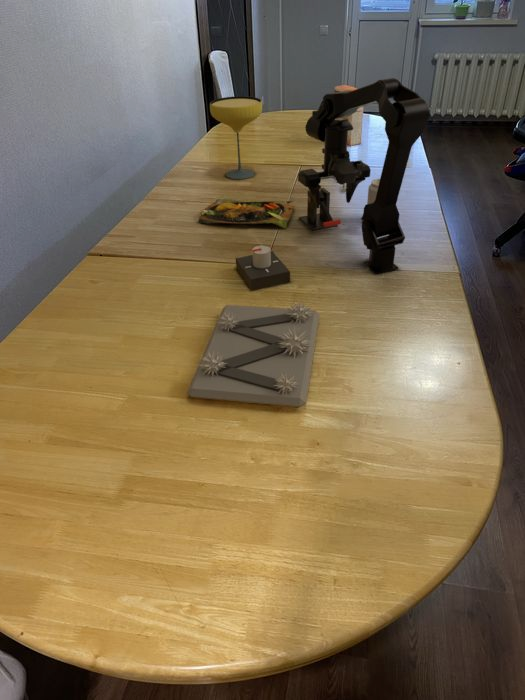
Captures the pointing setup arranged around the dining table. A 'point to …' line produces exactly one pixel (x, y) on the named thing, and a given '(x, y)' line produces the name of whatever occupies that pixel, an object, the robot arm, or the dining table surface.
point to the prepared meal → (248, 212)
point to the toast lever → (327, 213)
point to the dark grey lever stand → (314, 219)
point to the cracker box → (352, 120)
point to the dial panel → (262, 272)
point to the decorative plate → (258, 356)
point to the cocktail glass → (237, 122)
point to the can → (373, 191)
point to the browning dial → (261, 257)
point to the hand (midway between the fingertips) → (332, 205)
